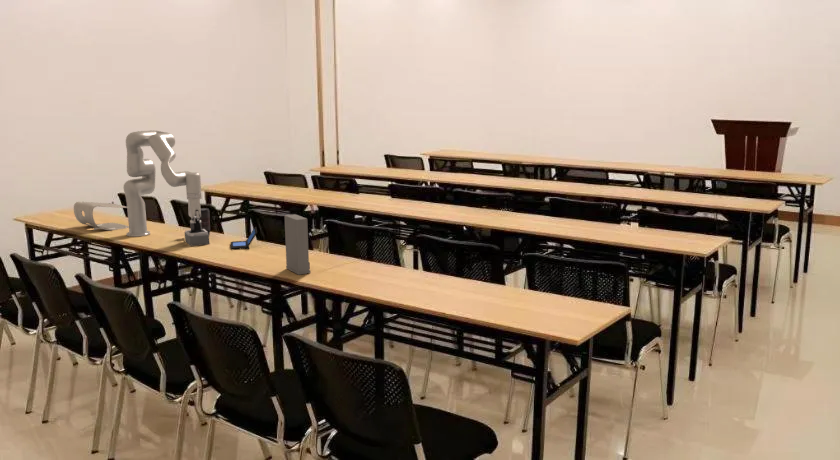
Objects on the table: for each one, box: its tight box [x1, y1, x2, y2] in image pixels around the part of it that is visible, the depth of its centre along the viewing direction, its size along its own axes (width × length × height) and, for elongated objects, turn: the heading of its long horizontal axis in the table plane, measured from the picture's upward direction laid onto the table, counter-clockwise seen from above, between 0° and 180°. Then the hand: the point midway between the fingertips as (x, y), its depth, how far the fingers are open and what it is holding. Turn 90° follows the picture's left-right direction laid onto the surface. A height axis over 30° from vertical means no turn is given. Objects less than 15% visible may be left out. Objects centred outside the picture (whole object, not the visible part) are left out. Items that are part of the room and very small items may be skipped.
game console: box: [230, 226, 258, 251], centre depth 377 cm, size 16×14×9 cm
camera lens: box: [200, 208, 211, 236], centre depth 403 cm, size 8×8×15 cm
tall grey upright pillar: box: [284, 214, 312, 276], centre depth 323 cm, size 14×6×25 cm, turn 33°
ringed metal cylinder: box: [189, 219, 202, 233], centre depth 385 cm, size 6×6×7 cm
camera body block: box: [184, 229, 210, 247], centre depth 386 cm, size 14×10×6 cm
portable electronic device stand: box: [73, 201, 129, 231], centre depth 427 cm, size 26×24×16 cm
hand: (196, 228), depth 385 cm, fingers open, 6 cm apart
